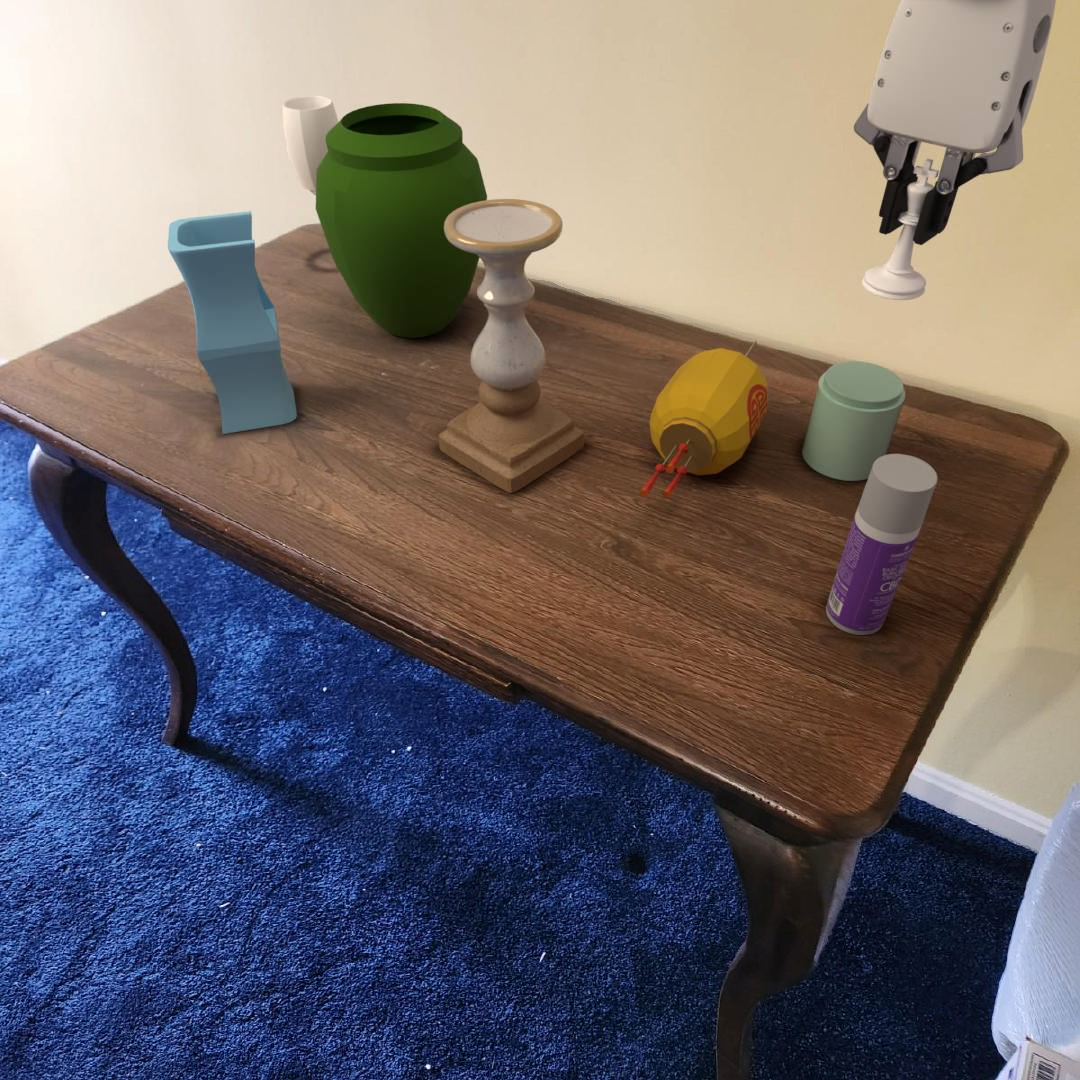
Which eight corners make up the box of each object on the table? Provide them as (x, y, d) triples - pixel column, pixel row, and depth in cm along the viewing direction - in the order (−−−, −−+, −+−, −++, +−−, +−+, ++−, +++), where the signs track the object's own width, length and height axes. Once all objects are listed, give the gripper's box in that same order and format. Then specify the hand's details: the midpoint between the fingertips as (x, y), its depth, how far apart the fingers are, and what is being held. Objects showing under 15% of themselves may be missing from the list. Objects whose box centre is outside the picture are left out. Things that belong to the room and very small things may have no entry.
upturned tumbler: (855, 428, 91) (877, 353, 85) (898, 473, 86) (925, 396, 79) (787, 441, 90) (805, 365, 84) (826, 487, 84) (848, 410, 78)
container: (871, 644, 69) (926, 501, 59) (816, 618, 71) (860, 476, 61) (892, 610, 72) (948, 468, 62) (838, 586, 74) (884, 444, 64)
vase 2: (298, 422, 93) (255, 242, 79) (222, 434, 91) (166, 253, 78) (292, 384, 98) (251, 210, 85) (221, 395, 97) (168, 220, 83)
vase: (331, 299, 114) (294, 100, 97) (475, 280, 118) (463, 86, 101) (346, 374, 100) (306, 157, 84) (509, 350, 104) (501, 138, 87)
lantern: (700, 452, 70) (797, 298, 90) (594, 443, 75) (708, 299, 95) (712, 548, 76) (801, 384, 96) (613, 534, 81) (717, 381, 100)
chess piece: (909, 306, 68) (949, 177, 61) (851, 288, 70) (883, 161, 64) (934, 284, 71) (974, 158, 64) (877, 267, 73) (910, 144, 66)
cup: (366, 250, 125) (343, 95, 111) (351, 272, 120) (326, 112, 106) (318, 247, 126) (289, 93, 112) (302, 269, 121) (269, 110, 107)
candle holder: (511, 495, 83) (501, 260, 67) (437, 449, 89) (411, 221, 73) (586, 446, 89) (594, 219, 73) (512, 406, 95) (504, 186, 79)
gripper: (1142, -41, 53) (1029, 248, 65) (899, -66, 61) (840, 195, 74) (1100, -23, 49) (988, 281, 61) (846, -53, 57) (793, 220, 70)
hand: (908, 232), depth 67 cm, fingers closed on chess piece
